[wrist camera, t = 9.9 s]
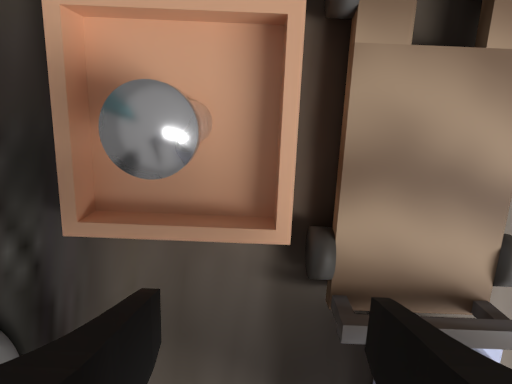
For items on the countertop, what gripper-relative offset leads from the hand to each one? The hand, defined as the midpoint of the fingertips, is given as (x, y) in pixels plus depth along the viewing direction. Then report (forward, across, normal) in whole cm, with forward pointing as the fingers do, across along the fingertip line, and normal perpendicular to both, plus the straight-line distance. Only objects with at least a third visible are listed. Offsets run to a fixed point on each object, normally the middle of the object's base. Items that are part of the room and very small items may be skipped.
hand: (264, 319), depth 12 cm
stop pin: (+9, +4, -6) cm, 12 cm away
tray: (+10, +4, -6) cm, 12 cm away
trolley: (+10, -8, -6) cm, 14 cm away
